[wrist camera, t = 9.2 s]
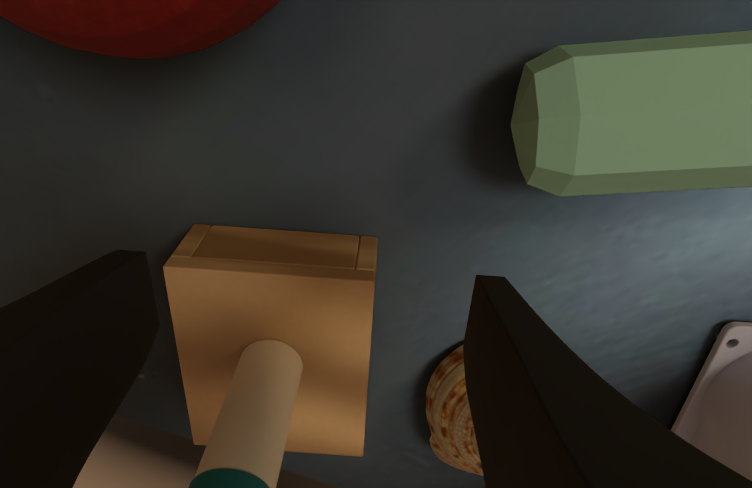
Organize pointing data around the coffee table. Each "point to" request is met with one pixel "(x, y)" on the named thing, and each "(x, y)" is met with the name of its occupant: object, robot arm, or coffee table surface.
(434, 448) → the seashell
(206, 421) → the wooden box
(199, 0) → the apple
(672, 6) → the coffee table surface
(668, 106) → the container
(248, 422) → the marker
